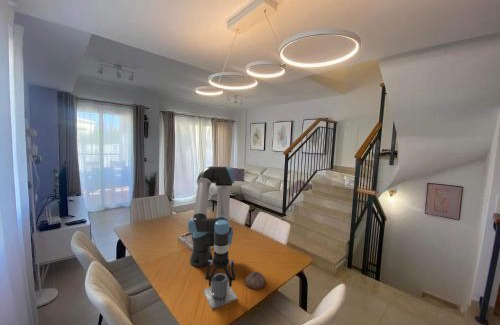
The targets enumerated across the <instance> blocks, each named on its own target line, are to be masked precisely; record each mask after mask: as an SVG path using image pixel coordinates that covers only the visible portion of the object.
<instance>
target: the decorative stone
mask: <svg viewBox="0 0 500 325" xmlns="http://www.w3.org/2000/svg"><path fill="white" fill-rule="evenodd" d="M244 280H245V281H244V283H245V285H246V286H247V287H248V288H249V289H250V290H261V289H263V288H264V287H265V286H266V278H265V276H264V275H263V274H262V273H261V272H259V271H252V272H250V273H249V274H247V275H246V277H245V279H244Z"/></svg>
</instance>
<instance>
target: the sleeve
mask: <svg viewBox="0 0 500 325" xmlns="http://www.w3.org/2000/svg"><path fill="white" fill-rule="evenodd" d="M227 283H228V277H227V275H226V273H222V272H221V273H215V274H214V276H213V285H212V294H213V295H214V296H215V297H223V296H225V295H226V293H227Z"/></svg>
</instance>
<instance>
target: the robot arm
mask: <svg viewBox="0 0 500 325" xmlns="http://www.w3.org/2000/svg"><path fill="white" fill-rule="evenodd" d="M234 175H235V174H234V169H233V167H231V166H212V165H211V166H208V167H206V168H204V169H203V170H202V171H201V172H200V173H199V175H198V176H197V180H196V184H197V188H196V189H197V190H196V196H195V204H194V209H193V215H192V216H193V217H191V218H189V219H188V222H187V230H188V232H189V233H193V234H192V252H191V254H190V258H189V262H190V265H191V266H193V267H196V268H197V267H198V268H202V267H206V266H207V270H206V274H205V280H208V287H211V293H212V285H213V276H214V275H215V274H216V271H217V269H219V270H220V269H222V270H224V273H225V275H226V276H227V278H228V292H227V294H229V287H231V288H232V281H235V280H236V272H235V267H234V266H235V265H234V264H235V261H234V260H229V250H230V248H229V246H231V245H232V241H233V236H234V228H233V227H232V225H231V223H230V199H231V198H230V196H231V193H230V192H231V188H232V187H233V184H235V176H234ZM212 184H215V187H216V188H217V192H216V194H217V197H216V199H217V200H216V217H208V208H209V197H210V196H209V195H210V186H212ZM211 247H213V253H212V250H211ZM212 265H214V266H213V267H214V268H213V269H212V271H211V267H212ZM228 265H229V266H230V270H229V267H228ZM230 271H231V272H230ZM210 272H211V273H210Z"/></svg>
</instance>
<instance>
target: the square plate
mask: <svg viewBox="0 0 500 325" xmlns="http://www.w3.org/2000/svg"><path fill="white" fill-rule="evenodd" d="M202 292H203V294H204V297H205V298H206V300H207V303H208V305H209V307H210V309H211V310H215V309H219V308H220V307H222V306H226V305H228V304H231V303H232V302H235V301H238V300H239V298H238V296H237V294H236V293H235V291H233V288H232V286H231V287H229V294H227V293H226V295H225V296H223V297H215V296H214V295H213V294H212V293H211V286H209V287H208V288H204V289H202ZM227 292H228V283H227Z"/></svg>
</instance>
